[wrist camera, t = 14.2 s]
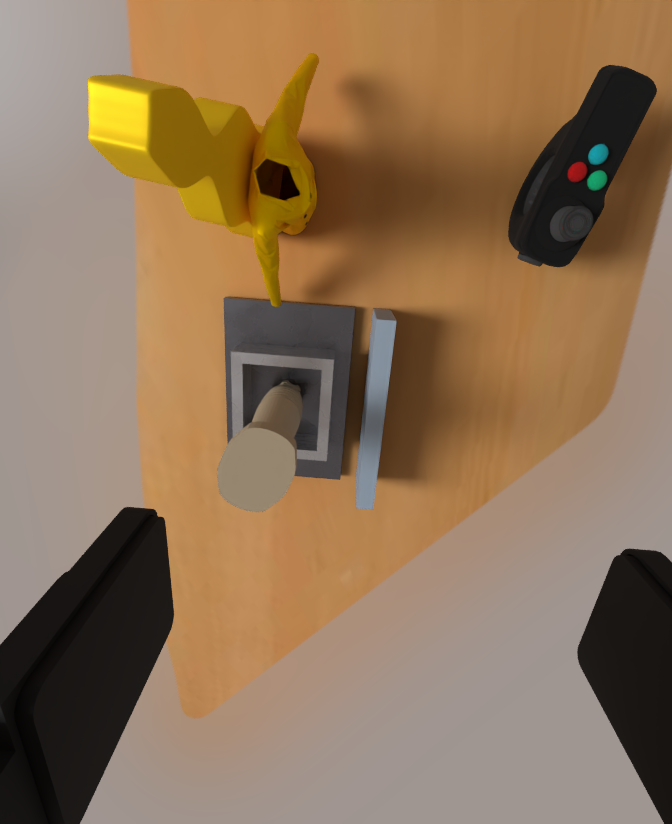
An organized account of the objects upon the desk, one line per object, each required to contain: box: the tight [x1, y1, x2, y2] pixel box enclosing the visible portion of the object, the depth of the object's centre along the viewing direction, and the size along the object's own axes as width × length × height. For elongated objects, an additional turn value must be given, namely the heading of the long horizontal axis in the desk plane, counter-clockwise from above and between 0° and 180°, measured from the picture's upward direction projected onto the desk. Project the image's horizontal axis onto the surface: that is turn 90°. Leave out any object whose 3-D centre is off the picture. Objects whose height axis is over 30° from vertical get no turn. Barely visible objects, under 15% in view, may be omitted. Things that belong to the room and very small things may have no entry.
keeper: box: [224, 297, 355, 480], centre depth 41 cm, size 18×12×4 cm, turn 176°
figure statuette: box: [88, 53, 319, 307], centre depth 26 cm, size 18×8×22 cm, turn 168°
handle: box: [217, 380, 303, 512], centre depth 35 cm, size 5×6×15 cm
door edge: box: [356, 308, 397, 510], centre depth 40 cm, size 18×2×6 cm, turn 176°
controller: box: [508, 65, 657, 267], centre depth 31 cm, size 4×12×10 cm, turn 160°
